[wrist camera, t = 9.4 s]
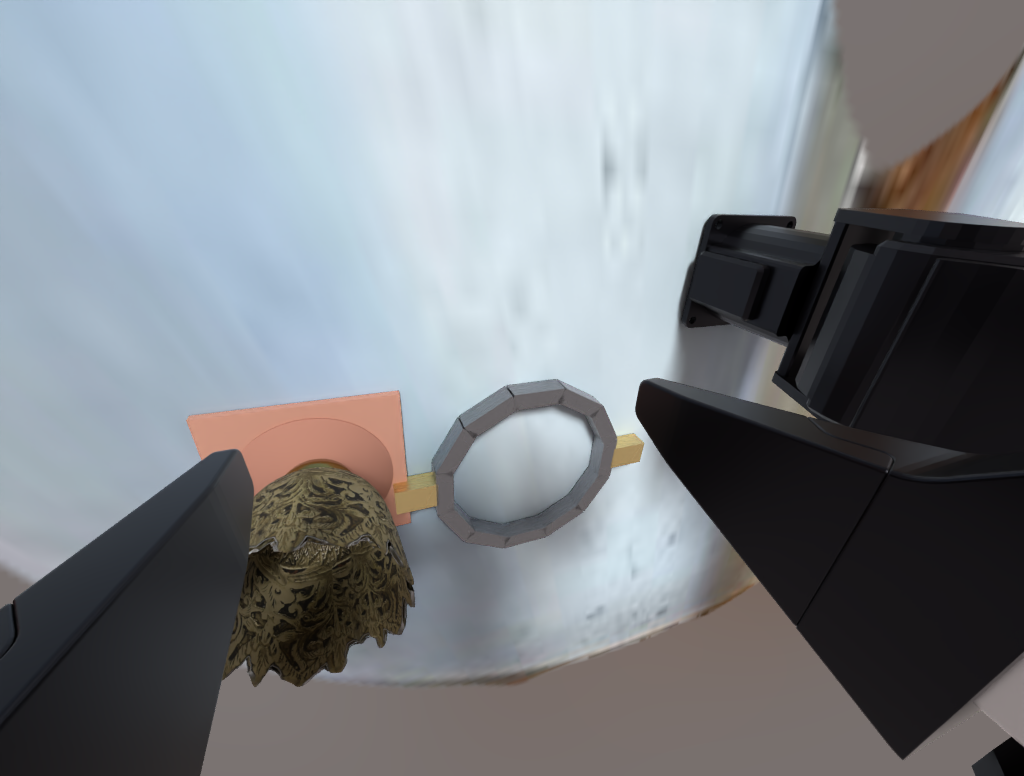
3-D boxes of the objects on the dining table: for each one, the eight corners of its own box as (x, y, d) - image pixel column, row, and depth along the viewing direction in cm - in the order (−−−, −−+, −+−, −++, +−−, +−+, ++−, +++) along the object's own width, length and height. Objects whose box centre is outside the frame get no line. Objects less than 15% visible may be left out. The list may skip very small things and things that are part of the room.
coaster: (398, 390, 21) (399, 395, 21) (410, 518, 25) (411, 523, 25) (189, 415, 18) (185, 421, 18) (242, 555, 22) (240, 563, 22)
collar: (649, 367, 26) (661, 375, 25) (617, 504, 32) (625, 515, 31) (383, 401, 21) (385, 413, 20) (401, 559, 27) (403, 575, 26)
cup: (284, 555, 23) (263, 716, 16) (197, 461, 19) (122, 624, 12) (412, 497, 24) (442, 624, 17) (357, 397, 20) (368, 513, 13)
